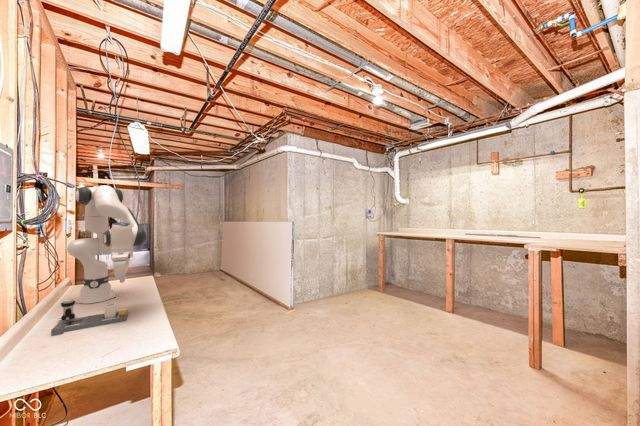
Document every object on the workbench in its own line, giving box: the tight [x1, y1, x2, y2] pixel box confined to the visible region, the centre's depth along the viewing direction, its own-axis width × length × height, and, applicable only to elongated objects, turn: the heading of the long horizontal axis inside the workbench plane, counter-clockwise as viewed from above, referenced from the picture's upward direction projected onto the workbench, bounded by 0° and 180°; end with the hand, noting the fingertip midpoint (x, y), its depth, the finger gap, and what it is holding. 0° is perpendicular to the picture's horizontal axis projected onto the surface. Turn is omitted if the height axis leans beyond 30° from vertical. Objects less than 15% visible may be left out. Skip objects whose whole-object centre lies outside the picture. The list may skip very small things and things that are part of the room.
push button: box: [57, 298, 77, 322], centre depth 130 cm, size 7×5×10 cm
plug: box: [104, 302, 117, 319], centre depth 128 cm, size 4×4×9 cm
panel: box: [50, 309, 129, 337], centre depth 124 cm, size 12×26×3 cm, turn 121°
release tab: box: [118, 308, 127, 315], centre depth 130 cm, size 2×2×4 cm
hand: (122, 282), depth 130 cm, fingers closed
